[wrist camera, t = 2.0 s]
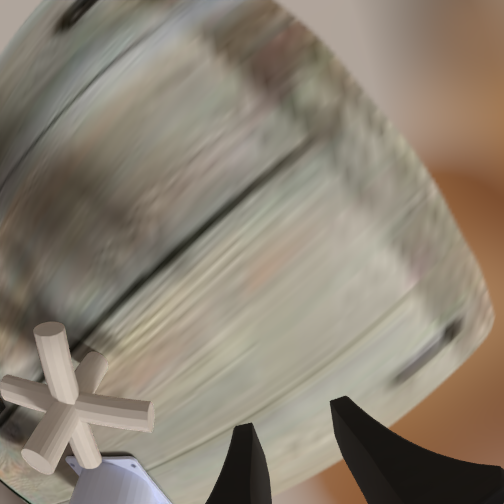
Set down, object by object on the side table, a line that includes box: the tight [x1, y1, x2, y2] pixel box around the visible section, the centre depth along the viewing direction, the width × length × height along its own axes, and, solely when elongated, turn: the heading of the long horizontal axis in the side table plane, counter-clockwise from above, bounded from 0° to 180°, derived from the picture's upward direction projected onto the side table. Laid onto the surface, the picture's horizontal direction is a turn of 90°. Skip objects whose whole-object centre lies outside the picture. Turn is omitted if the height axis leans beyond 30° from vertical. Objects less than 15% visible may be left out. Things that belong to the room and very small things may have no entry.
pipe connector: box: [0, 322, 155, 475], centre depth 14 cm, size 10×10×10 cm
